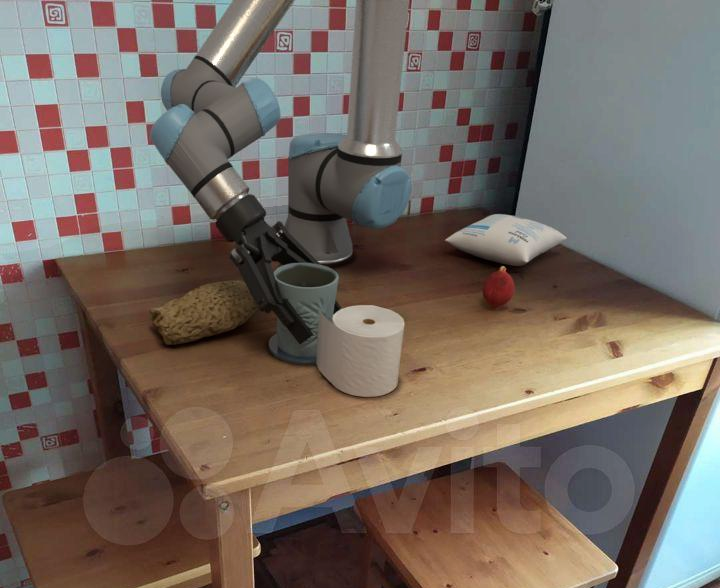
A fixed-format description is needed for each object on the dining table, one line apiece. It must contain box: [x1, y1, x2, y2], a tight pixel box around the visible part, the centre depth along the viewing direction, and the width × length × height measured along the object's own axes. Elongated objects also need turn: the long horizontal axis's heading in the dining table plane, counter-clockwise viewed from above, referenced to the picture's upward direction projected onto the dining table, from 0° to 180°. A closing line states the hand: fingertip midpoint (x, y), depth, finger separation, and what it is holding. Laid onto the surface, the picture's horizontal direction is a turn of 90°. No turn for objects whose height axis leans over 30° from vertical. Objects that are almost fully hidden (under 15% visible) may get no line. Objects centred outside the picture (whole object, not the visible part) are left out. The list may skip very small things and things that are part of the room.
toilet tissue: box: [315, 304, 406, 398], centre depth 114 cm, size 11×12×10 cm
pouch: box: [444, 213, 568, 267], centre depth 161 cm, size 8×19×20 cm
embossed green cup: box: [273, 263, 340, 358], centre depth 120 cm, size 10×10×12 cm
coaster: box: [268, 333, 317, 366], centre depth 124 cm, size 12×12×1 cm
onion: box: [482, 265, 515, 309], centre depth 140 cm, size 6×6×8 cm
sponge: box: [148, 279, 259, 346], centre depth 125 cm, size 13×8×20 cm
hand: (321, 326), depth 120 cm, fingers open, 10 cm apart
